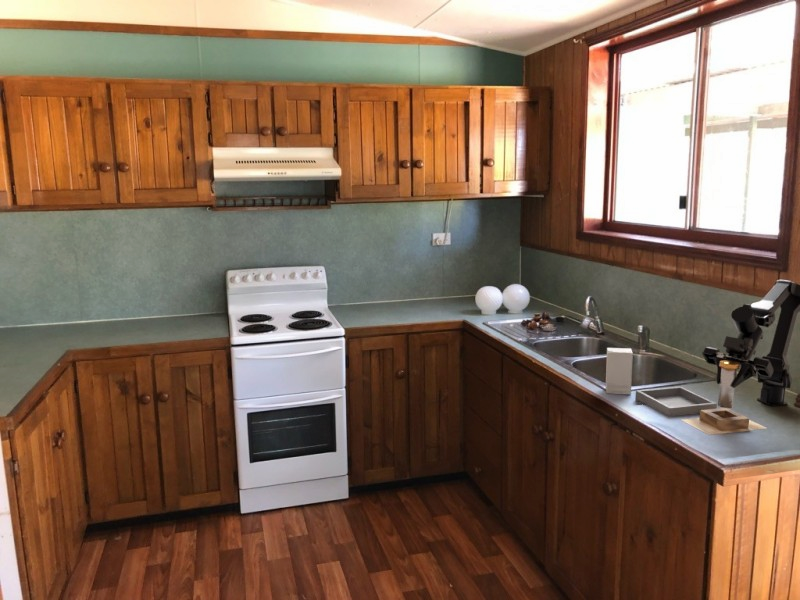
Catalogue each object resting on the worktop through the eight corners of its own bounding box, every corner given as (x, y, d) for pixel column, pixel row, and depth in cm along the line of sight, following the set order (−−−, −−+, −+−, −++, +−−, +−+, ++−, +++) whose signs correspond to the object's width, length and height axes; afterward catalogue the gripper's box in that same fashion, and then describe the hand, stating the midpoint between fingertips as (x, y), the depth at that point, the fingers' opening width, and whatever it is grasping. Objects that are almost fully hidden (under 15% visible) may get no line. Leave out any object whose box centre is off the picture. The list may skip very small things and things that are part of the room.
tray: (679, 396, 224) (680, 386, 223) (715, 414, 208) (716, 403, 207) (635, 400, 219) (636, 390, 219) (668, 419, 203) (669, 408, 203)
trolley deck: (736, 416, 205) (737, 404, 205) (766, 431, 194) (768, 418, 193) (680, 422, 200) (681, 410, 199) (708, 438, 189) (709, 424, 188)
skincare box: (629, 390, 230) (632, 348, 227) (631, 395, 224) (634, 352, 221) (604, 388, 232) (606, 346, 229) (604, 393, 226) (607, 350, 223)
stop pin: (726, 402, 199) (730, 359, 197) (739, 408, 194) (743, 364, 192) (711, 403, 198) (715, 361, 195) (724, 409, 193) (728, 366, 190)
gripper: (707, 320, 201) (686, 362, 196) (773, 332, 187) (751, 377, 182) (718, 341, 207) (697, 382, 203) (782, 354, 193) (761, 399, 188)
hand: (725, 385), depth 194 cm, fingers closed on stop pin, 4 cm apart
